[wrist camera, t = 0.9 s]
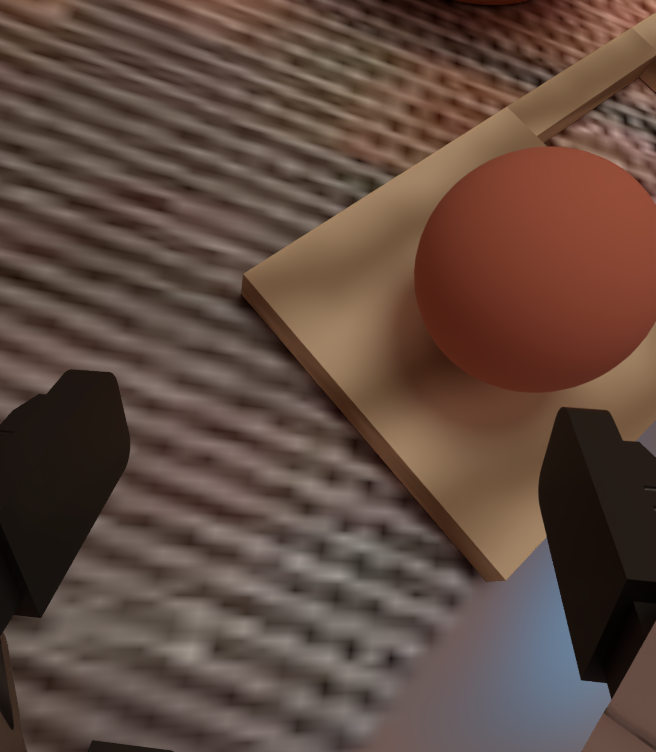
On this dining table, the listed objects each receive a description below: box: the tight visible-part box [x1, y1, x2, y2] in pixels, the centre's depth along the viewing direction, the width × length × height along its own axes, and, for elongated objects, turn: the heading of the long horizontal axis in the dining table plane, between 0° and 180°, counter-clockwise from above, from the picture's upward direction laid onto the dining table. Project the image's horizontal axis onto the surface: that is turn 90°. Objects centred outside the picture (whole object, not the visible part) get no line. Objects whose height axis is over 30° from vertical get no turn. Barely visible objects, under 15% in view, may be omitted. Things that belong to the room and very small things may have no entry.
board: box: [241, 13, 656, 582], centre depth 34 cm, size 18×36×2 cm, turn 131°
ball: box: [414, 147, 656, 393], centre depth 25 cm, size 10×10×10 cm
